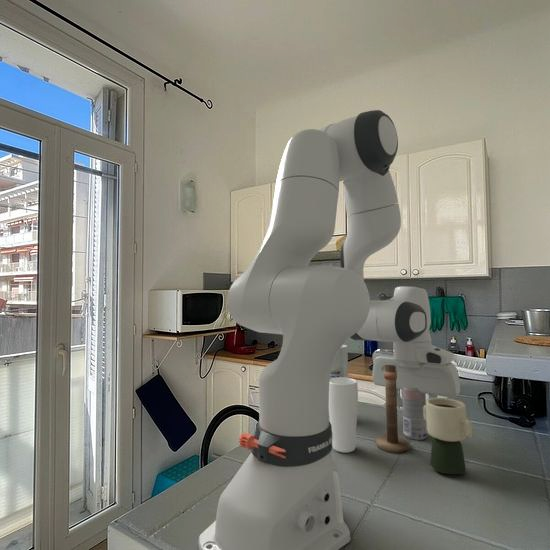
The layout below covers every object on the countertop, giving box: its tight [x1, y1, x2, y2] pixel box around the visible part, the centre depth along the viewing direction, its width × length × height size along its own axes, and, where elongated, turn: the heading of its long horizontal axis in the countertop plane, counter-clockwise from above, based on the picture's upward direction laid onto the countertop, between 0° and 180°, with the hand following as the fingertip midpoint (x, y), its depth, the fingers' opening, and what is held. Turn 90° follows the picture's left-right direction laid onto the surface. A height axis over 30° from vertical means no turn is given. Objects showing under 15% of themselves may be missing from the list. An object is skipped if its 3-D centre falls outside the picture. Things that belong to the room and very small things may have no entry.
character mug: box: [423, 397, 473, 475], centre depth 69 cm, size 11×7×13 cm, turn 24°
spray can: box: [329, 344, 349, 421], centre depth 98 cm, size 6×6×20 cm
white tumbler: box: [329, 377, 359, 454], centre depth 79 cm, size 7×7×15 cm
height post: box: [375, 365, 410, 454], centre depth 80 cm, size 7×7×18 cm
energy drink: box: [401, 386, 428, 441], centre depth 85 cm, size 5×5×12 cm
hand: (414, 409), depth 85 cm, fingers closed on energy drink, 5 cm apart
